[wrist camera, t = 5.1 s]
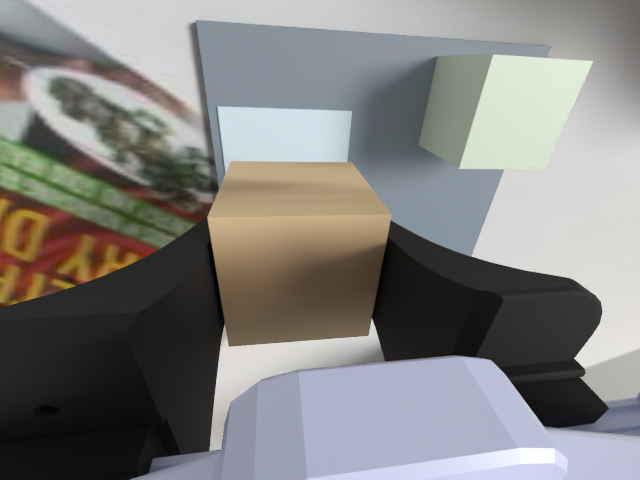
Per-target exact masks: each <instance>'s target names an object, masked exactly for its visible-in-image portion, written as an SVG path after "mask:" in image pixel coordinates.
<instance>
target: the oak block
mask: <svg viewBox="0 0 640 480" xmlns="http://www.w3.org/2000/svg"><path fill="white" fill-rule="evenodd" d="M391 216H392V214H391V213H390V211H389V210H388V209H387V207H386V206H385V205H384V204H383V202H382V201H381V200H380V198H379V197H378V196H377V194H376V193H375V192H374V191H373V189H372V188H371V187H370V185H369V184H368V183H367V181H366V180H365V179H364V178H363V176H362V175H361V174H360V172H359V171H358V170H357V168H356V167H355V166H354V165H353V163H352V162H267V161H231V162H230V164H229V167H228V169H227V171H226V174H225V176H224V179H223V181H222V183H221V186H220V188H219V191H218V193H217V195H216V198H215V200H214V203H213V205H212V208H211V210H210V212H209V215H208V217H207V219H208V225H209V231H210V237H211V243H212V249H213V255H214V260H215V266H216V272H217V278H218V284H219V290H220V296H221V302H222V308H223V314H224V320H225V326H226V332H227V338H228V344H229V346H242V345H255V344H267V343H280V342H293V341H306V340H319V339H332V338H345V337H358V336H368V334H369V329H370V324H371V319H372V314H373V309H374V303H375V298H376V293H377V288H378V283H379V278H380V273H381V268H382V262H383V257H384V252H385V247H386V242H387V237H388V232H389V227H390V222H391Z"/></svg>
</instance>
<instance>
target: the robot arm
mask: <svg viewBox="0 0 640 480" xmlns="http://www.w3.org/2000/svg"><path fill="white" fill-rule="evenodd" d="M207 217H208V216H207ZM207 217H206V218H204V219H203V220H202V221H200V222H199V223H198V224H196V225H195V226H194V227H192V228H191V229H190V230H188V231H187V232H186V233H184V234H183V235H181V236H180V237H178V238H177V239H175V240H174V241H172V242H171V243H169V244H168V245H166V246H165V247H163V248H161V249H160V250H158V251H156V252H154V253H152V254H151V255H149V256H147V257H145V258H143V259H141V260H139V261H137V262H135V263H133V264H130V265H128V266H126V267H124V268H121V269H119V270H117V271H114V272H112V273H110V274H107V275H105V276H102V277H100V278H97V279H94V280H92V281H89V282H86V283H83V284H81V285H78V286H74V287H71V288H68V289H65V290H62V291H59V292H56V293H53V294H49V295H46V296H42V297H39V298H35V299H31V300H28V301H24V302H20V303H17V304H13V305H9V306H6V307H2V308H0V480H640V392H639V393H638V396H637V397H636V398H628V399H620V400H612V401H605V402H603V401H602V400H601V399H600V398H599V397H598V396H597V395H596V394H595V393H594V392H593V391H592V390H591V389H590V387H589V386H588V385H587V384H586V383H585V382H584V381H583V380H582V379H581V378H580V377H582V376H584V374H585V369H584V368H583V367H582V366H581V365H580V364H579V363H578V362H577V361H576V360H575V359H574V358H575V356H576V355H577V354H578V353H579V351H580V350H581V349H582V347H583V346H584V345H585V343H586V342H587V341H588V340H589V338H590V337H591V336H592V334H593V333H594V331H595V330H596V328H597V327H598V325H599V323H600V319H601V316H602V307H601V302H600V301H599V299H598V298H597V297H596V296H595V295H594V294H592V293H591V292H590V291H588V290H587V289H586V288H584V287H583V286H581V285H580V284H579V283H577V282H576V281H574V280H572V279H570V278H565V277H559V276H553V275H548V274H542V273H536V272H530V271H525V270H520V269H516V268H511V267H507V266H503V265H499V264H495V263H491V262H487V261H484V260H480V259H477V258H474V257H471V256H468V255H464V254H462V253H459V252H456V251H453V250H451V249H448V248H446V247H443V246H441V245H438V244H436V243H433V242H431V241H429V240H427V239H425V238H423V237H421V236H419V235H417V234H415V233H413V232H411V231H409V230H407V229H406V228H404V227H402V226H400V225H398V224H397V223H395V222H393V221H391V222H390V227H389V232H388V237H387V242H386V247H385V252H384V257H383V262H382V268H381V273H380V278H379V283H378V288H377V293H376V298H375V303H374V309H373V314H372V319H373V322H374V325H375V327H376V330H377V334H378V337H379V341H380V344H381V348H382V351H383V355H384V359H385V362H378V363H367V364H357V365H346V366H335V367H324V368H313V369H302V370H296V371H292V372H288V373H284V374H280V375H276V376H272V377H269V378H265V379H262V380H261V381H259V382H258V383H257V384H255V385H254V386H253V387H251V388H250V389H248V390H247V391H246V392H244V393H243V394H242V395H240V396H239V397H238V398H236V399H235V400H233V401H232V402H231V404H230V407H229V411H228V414H227V418H226V422H225V426H224V434H223V441H222V449H221V450H216V451H209V448H210V436H211V425H212V415H213V405H214V395H215V386H216V377H217V369H218V361H219V353H220V345H221V338H222V333H223V328H224V324H225V320H224V314H223V308H222V302H221V296H220V290H219V284H218V278H217V272H216V266H215V260H214V255H213V249H212V243H211V237H210V231H209V225H208V219H207Z"/></svg>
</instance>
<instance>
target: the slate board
mask: <svg viewBox="0 0 640 480" xmlns="http://www.w3.org/2000/svg"><path fill="white" fill-rule="evenodd" d="M196 26H197V33H198V41H199V48H200V55H201V63H202V70H203V77H204V85H205V92H206V99H207V107H208V114H209V121H210V128H211V136H212V143H213V150H214V158H215V165H216V172H217V180H218V187H219V188H220V186H221V183H222V181H223V179H224V176H225V174H226V171H227V169H228V167H229V164H230V162H231V161H267V162H352V163H353V165H354V166H355V167H356V168H357V170H358V171H359V172H360V174H361V175H362V176H363V178H364V179H365V180H366V181H367V183H368V184H369V185H370V187H371V188H372V189H373V191H374V192H375V193H376V194H377V196H378V197H379V198H380V200H381V201H382V202H383V204H384V205H385V206H386V207H387V209H388V210H389V211H390V213H391V214H392V216H391V221H393V222H395V223H397V224H398V225H400V226H402V227H404V228H406V229H407V230H409V231H411V232H413V233H415V234H417V235H419V236H421V237H423V238H425V239H427V240H429V241H431V242H433V243H436V244H438V245H441V246H443V247H446V248H448V249H451V250H453V251H456V252H459V253H462V254H464V255H468V256H471V255H472V252H473V250H474V247H475V245H476V242H477V239H478V237H479V234H480V231H481V229H482V226H483V224H484V221H485V218H486V216H487V213H488V210H489V208H490V205H491V203H492V200H493V197H494V195H495V192H496V189H497V187H498V184H499V182H500V179H501V176H502V174H503V171H504V169H458V168H456V167H455V166H453V165H451V164H450V163H448V162H446V161H445V160H443V159H441V158H439V157H438V156H436V155H434V154H433V153H431V152H429V151H427V150H426V149H424V148H422V147H421V146H419V145H418V144H419V140H420V135H421V131H422V126H423V121H424V117H425V112H426V108H427V103H428V98H429V94H430V89H431V85H432V80H433V75H434V71H435V66H436V62H437V57H438V56H450V55H490V54H494V55H509V56H524V57H539V58H547V56H548V53H549V50H550V48H551V46H541V45H528V44H514V43H501V42H487V41H473V40H460V39H446V38H433V37H419V36H405V35H392V34H378V33H365V32H351V31H337V30H324V29H310V28H297V27H283V26H269V25H256V24H242V23H229V22H215V21H201V20H196Z"/></svg>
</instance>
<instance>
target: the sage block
mask: <svg viewBox="0 0 640 480" xmlns="http://www.w3.org/2000/svg"><path fill="white" fill-rule="evenodd" d="M592 63H593V61H584V60H569V59H554V58H539V57H524V56H509V55H494V54H490V55H450V56H438V57H437V62H436V66H435V71H434V75H433V80H432V85H431V89H430V94H429V98H428V103H427V108H426V112H425V117H424V121H423V126H422V131H421V135H420V140H419V144H418V145H419V146H421V147H422V148H424V149H426V150H427V151H429V152H431V153H433V154H434V155H436V156H438V157H439V158H441V159H443V160H445V161H446V162H448V163H450V164H451V165H453V166H455V167H456V168H458V169H545V167H546V165H547V162H548V160H549V158H550V156H551V154H552V151H553V149H554V147H555V145H556V143H557V140H558V138H559V136H560V134H561V132H562V129H563V127H564V125H565V123H566V121H567V118H568V116H569V114H570V112H571V110H572V107H573V105H574V103H575V101H576V98H577V96H578V94H579V92H580V90H581V87H582V85H583V83H584V81H585V79H586V76H587V74H588V72H589V70H590V68H591V65H592Z"/></svg>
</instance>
